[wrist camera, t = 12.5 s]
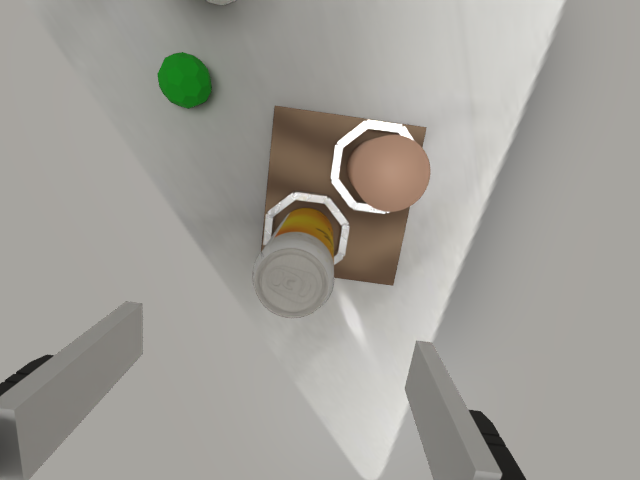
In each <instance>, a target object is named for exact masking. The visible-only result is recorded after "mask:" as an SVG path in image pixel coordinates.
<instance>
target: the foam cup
mask: <svg viewBox="0 0 640 480" xmlns="http://www.w3.org/2000/svg"><path fill="white" fill-rule="evenodd" d="M206 1H208V2H209V3H213V4H219V5H225V4H228V3H231V2H234V1H236V0H206Z"/></svg>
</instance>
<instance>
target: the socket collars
mask: <svg viewBox="0 0 640 480" xmlns="http://www.w3.org/2000/svg"><path fill="white" fill-rule="evenodd" d="M367 129H369V130H376V131H383V132H390V133H396V134H397V135H402V136H405V137H408V138H410V139H412V140H414V139H413V138H412V136H411V135H410V133H409V132H408V130H407V129H406V127H405V126H403V127H402V124H395V123H388V122H381V121H374V120H367V121H364V122H362V123H361V124H360V125H359V126H357V127H356V128H355V129H353V130H352V131H351V132H350V133H348V134H347V135H346V136H344V137H343V138H342V139H341V140H339V141H338V142H337V144H338V145H335V150H334V157H333V164H332V171H331V178H330V179H332V180H331V182H332V184H333V185H334V186H335V188H336V189H337V190H338V192H339V193H340V194H341V196H342V197H343V199H344V200H345V201H346V203H347V204H348V205H349V207H350V208H353V210H360V211H367V212H374V213H381V214H385V212H386V211H380V210H377V209H375V208H373V207H371V206H370V205H368V204H367V203H366V202H363V201H355V200H354V199H353V197H352V196H351V195H350V193H349V192H348V191H347V189H346V188H345V186H344V185H343V184H342V182H341V181H340V180H339V178H338V177H339V171H340V164H341V157H342V151H343V147H345V146H346V145H347V144H348V143H350V142H351V141H352V140H354V139H355V138H356V137H357V136H359V135H360V134H361V133H363V132H364V131H365V130H367ZM327 197H328V195H326V194H319V193H311V192H304V191H297V190H296V191H295V192H294V191H293V192H292V193H291V194H289V195H288V196H287V197H285V198H284V199H283V200H282V201H280V202H279V203H278V204H276V205H275V206H274V207H273V208H271V209H270V210H269V211H268V212H267V214H266V219H265V230H264V240H263V245H265V246H266V244H267V243H268V241H269V240H270V238H271V237H272V235H273V231H274V221H275V215H276V214H278V213H279V212H280V211H282V210H283V209H284V208H286V207H287V206H288V205H289V204H291V203H292V202H293V201H295V200H302V201H309V202H316V203H323V204H325V205H326V206H327V207H328V209H329V210H330V211H331V213H332V214H333V215H334V216H335V218H336V219H337V220H338V222H339V223H340V224H341V231H340V238H339V244H338V250H337V251H335V252H334V265H335V264H336V263H338V262H339V261H341V260H342V259H343V256H345V252H346V246H347V240H348V234H349V228H350V225H349V221H348V220H347V218H346V217H345V216H344V214H343V213H342V212H341V210H340V209H339V208H338V206H337V205H336V204H335V202H334V201H333V200H332V198H331V197H330V196H329V197H328V198H327ZM387 213H389V212H387ZM265 246H264V247H265Z"/></svg>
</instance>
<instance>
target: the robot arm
mask: <svg viewBox="0 0 640 480" xmlns="http://www.w3.org/2000/svg"><path fill="white" fill-rule="evenodd" d="M142 354H143V315H142V303H135V302H128V301H126V302H125V303H123V304H122V305H121V306H119V307H118V308H117V309H115V310H114V311H113V312H111V313H110V314H109V315H107V316H106V317H105V318H103V319H102V320H101V321H99V322H98V323H97V324H96V325H94V326H93V327H92V328H90V329H89V330H88V331H86V332H85V333H84V334H82V335H81V336H80V337H79V338H77V339H76V340H74V341H73V342H72V343H70V344H69V345H68V346H66V347H65V348H64V349H62V350H61V351H60V352H58V353H57V354H56V355H45V356H43V357H41V358H39V359H36V360H34V361H32V362H30V363H28V364H27V365H26V366H24V367H23V368H21V369H20V370H19V371H17V372H16V374H13V375H12V376H10V377H9V378H7V379H6V380H5V382H2V383H1V384H0V480H29V479H30V478H31V477H32V476H33V474H34V473H35V472H36V471H37V470H38V469H39V468H40V466H42V465H43V463H44V462H45V461H46V460H47V459H48V458H49V457H50V456H51V455H52V453H53V452H54V451H55V450H56V449H57V448H58V447H59V446H60V445H61V444H62V442H63V441H64V440H65V439H66V438H67V437H68V435H70V434H71V433H72V431H73V430H74V429H75V428H76V427H77V426H78V425H79V424H80V423H81V421H82V420H83V419H84V418H85V417H86V416H87V415H88V414H89V412H91V410H92V409H93V408H94V407H95V406H96V405H97V404H98V403H99V402H100V400H101V399H102V398H103V397H104V396H105V395H106V394H107V393H108V392H109V391H110V389H111V388H112V387H113V386H114V385H115V384H116V383H117V382H118V381H119V380H120V378H121V377H122V376H123V375H124V374H125V373H126V372H127V371H128V370H129V368H130V367H131V366H132V365H133V364H134V363H135V362H136V361H137V360H138V358H139V357H140V356H141V355H142ZM405 391H406V395H407V398H408V401H409V404H410V407H411V410H412V413H413V416H414V420H415V423H416V426H417V429H418V432H419V435H420V439H421V442H422V444H423V448H424V451H425V454H426V457H427V461H428V464H429V466H430V470H431V473H432V476H433V479H434V480H526V478H525V477H524V475H523V473H522V472H521V470H520V468H519V466H518V465H517V463H516V461H515V460H514V458H513V456H512V455H511V453H510V451H509V450H508V448H507V447H506V445H505V443H504V441H503V440H502V438H501V437H500V436H499V433H498V431H497V430H496V428H495V426H494V425H493V423H492V422H491V421H490V420H489V419H488V418H487V417H486V416H485V415H484V414H483V413H482V412H481V411H474V410H468V409H467V407H466V405H465V403H464V401H463V399H462V397H461V395H460V394H459V392H458V390H457V388H456V386H455V384H454V383H453V381H452V379H451V377H450V375H449V373H448V371H447V370H446V368H445V366H444V364H443V362H442V360H441V358H440V356H439V354H438V353H437V351H436V349H435V347H434V345H433V343H431V342H423V341H416V344H415V348H414V353H413V357H412V361H411V365H410V369H409V373H408V377H407V381H406V385H405Z"/></svg>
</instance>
